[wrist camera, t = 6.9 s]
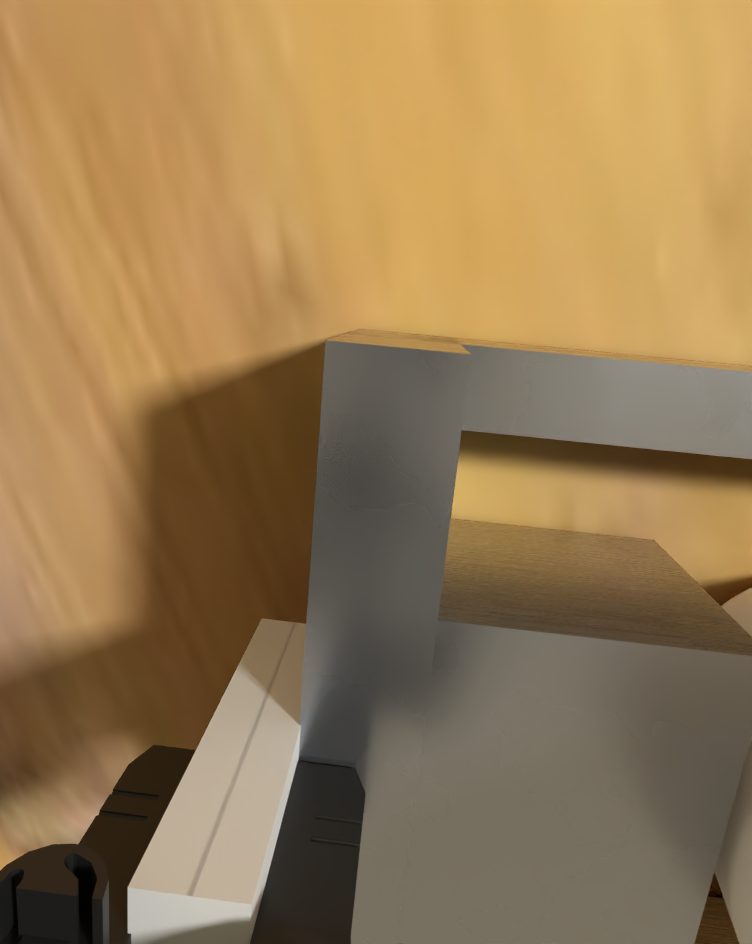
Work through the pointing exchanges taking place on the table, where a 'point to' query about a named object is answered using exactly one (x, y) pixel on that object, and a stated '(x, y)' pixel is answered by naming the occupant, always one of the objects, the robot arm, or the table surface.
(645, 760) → the frame
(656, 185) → the table surface
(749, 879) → the cup
